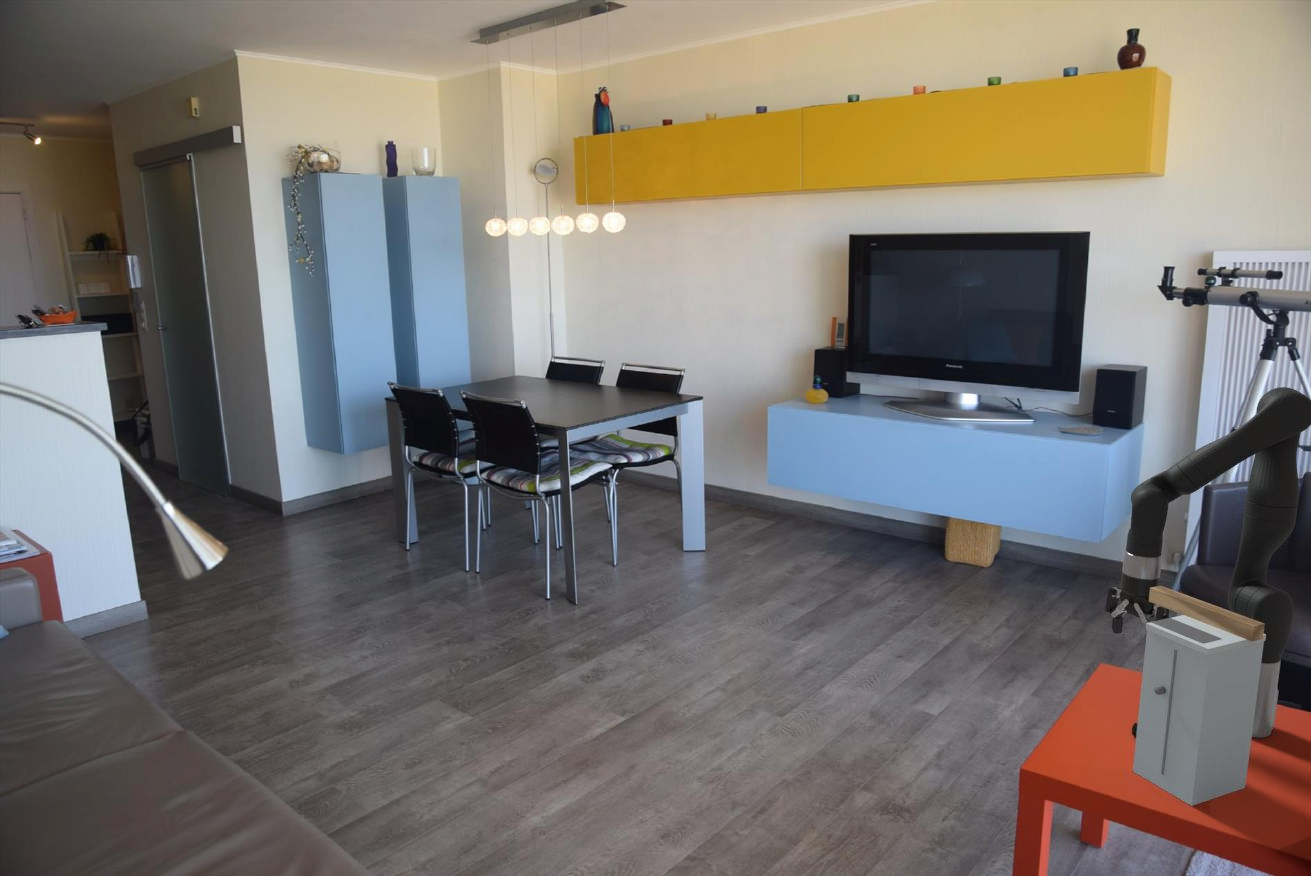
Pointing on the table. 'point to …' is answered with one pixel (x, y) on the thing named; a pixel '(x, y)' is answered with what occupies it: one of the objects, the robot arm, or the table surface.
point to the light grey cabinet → (1196, 708)
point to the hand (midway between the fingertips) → (1133, 639)
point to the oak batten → (1207, 613)
